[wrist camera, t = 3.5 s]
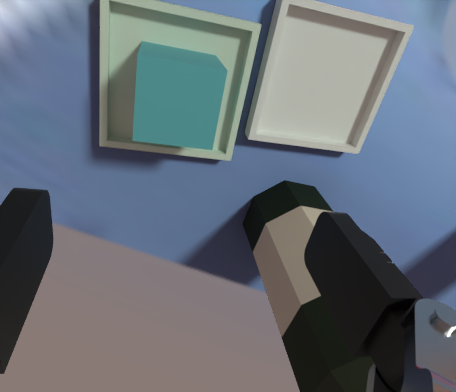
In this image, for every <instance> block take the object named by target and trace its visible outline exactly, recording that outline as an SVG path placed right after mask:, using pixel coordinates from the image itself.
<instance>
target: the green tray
mask: <svg viewBox="0 0 456 392" xmlns="http://www.w3.org/2000/svg"><path fill="white" fill-rule="evenodd" d="M261 25H262V24H259V23H257V22H252V21H248V20H243V19H239V18H234V17H230V16H225V15H221V14H217V13H212V12H208V11H203V10H199V9H194V8H190V7H185V6H181V5H176V4H172V3H167V2H163V1H159V0H100V134H99V146H102V147H111V148H120V149H129V150H138V151H147V152H156V153H165V154H174V155H183V156H191V157H200V158H209V159H218V160H227V161H231V157H232V153H233V149H234V144H235V140H236V135H237V131H238V127H239V122H240V118H241V113H242V109H243V105H244V100H245V96H246V91H247V87H248V83H249V78H250V74H251V69H252V65H253V60H254V56H255V52H256V47H257V43H258V38H259V34H260V30H261ZM142 41H145V42H150V43H155V44H160V45H166V46H171V47H176V48H181V49H186V50H192V51H197V52H202V53H207V54H212V55H216V56H217V57H218V59H219V60H220V61H221V63H222V64H223V65H224V66H225V68H226V69H227V70H228V72H227V77H226V82H225V87H224V92H223V98H222V103H221V108H220V113H219V118H218V124H217V129H216V134H215V139H214V144H213V150H206V149H198V148H189V147H181V146H172V145H164V144H156V143H147V142H139V141H132V140H133V123H134V105H135V88H136V71H137V54H138V51H139V48H140V46H141V43H142Z"/></svg>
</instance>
